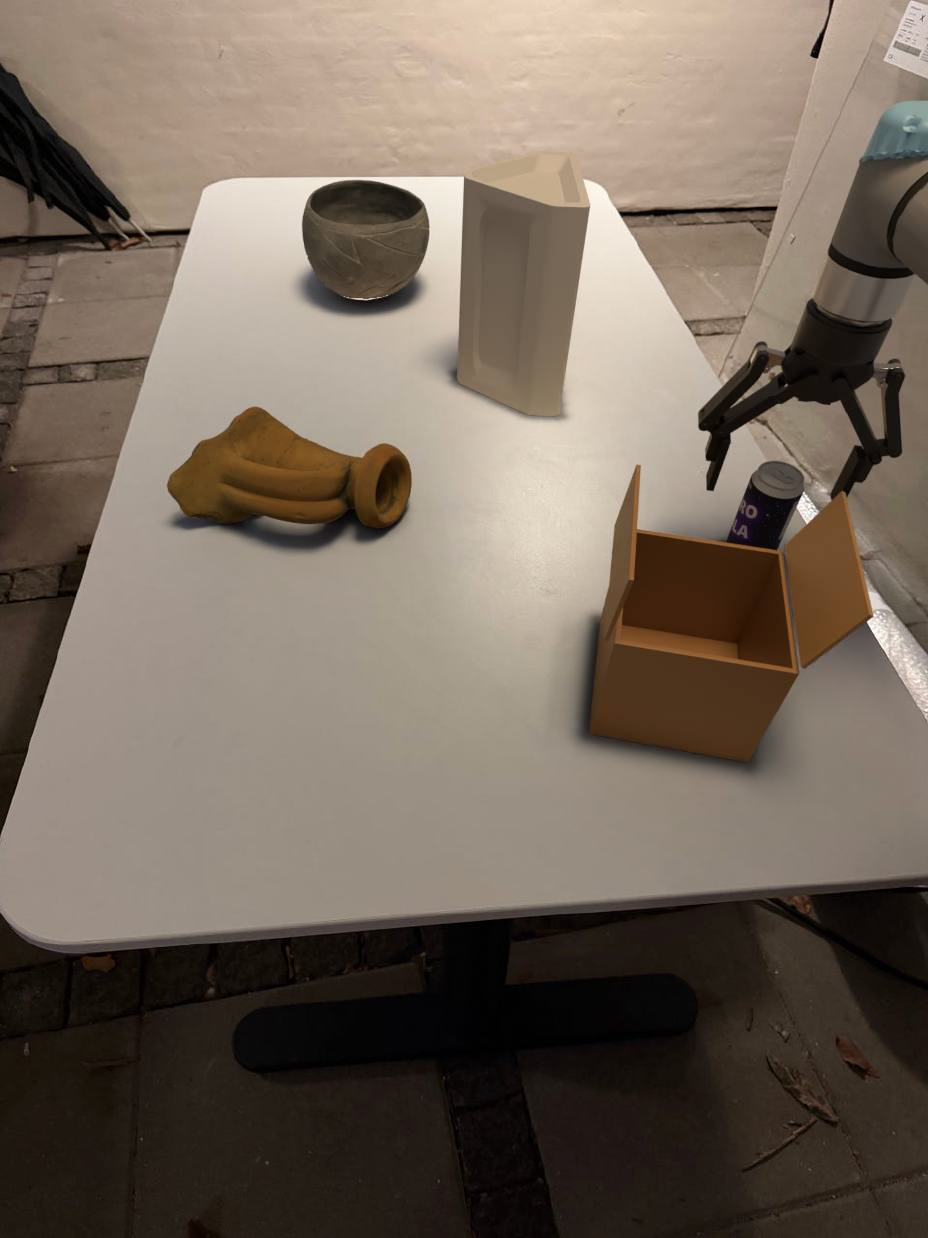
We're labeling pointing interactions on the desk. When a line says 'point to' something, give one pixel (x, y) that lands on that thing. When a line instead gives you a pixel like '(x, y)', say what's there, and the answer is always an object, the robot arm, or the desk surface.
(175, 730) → the desk surface
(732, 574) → the carton
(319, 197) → the bowl
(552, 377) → the tall recessed triangular prism
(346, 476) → the brown looped sculpture
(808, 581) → the flap
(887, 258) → the robot arm
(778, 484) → the beverage can
